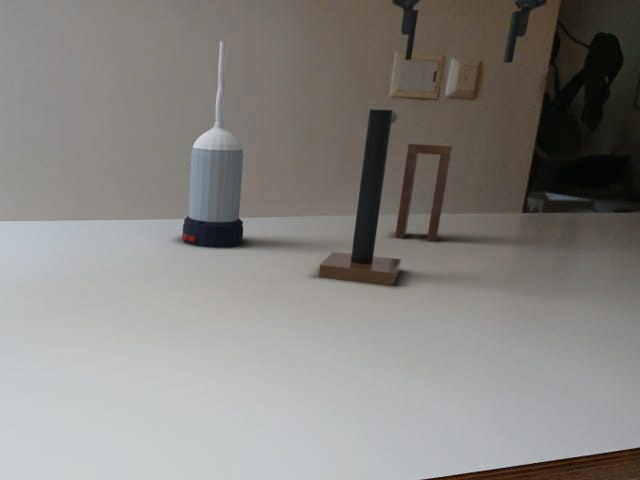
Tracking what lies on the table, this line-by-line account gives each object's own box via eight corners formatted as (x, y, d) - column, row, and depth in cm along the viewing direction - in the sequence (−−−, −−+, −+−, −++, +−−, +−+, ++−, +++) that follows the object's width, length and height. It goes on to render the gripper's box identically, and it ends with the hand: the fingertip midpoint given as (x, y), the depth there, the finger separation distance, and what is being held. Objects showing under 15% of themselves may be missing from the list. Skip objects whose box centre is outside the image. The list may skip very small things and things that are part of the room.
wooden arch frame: (437, 237, 109) (452, 144, 104) (435, 242, 105) (451, 146, 101) (397, 233, 111) (411, 142, 106) (394, 238, 107) (408, 143, 103)
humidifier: (174, 244, 98) (183, 38, 89) (191, 234, 105) (201, 43, 96) (234, 250, 95) (249, 39, 87) (248, 239, 103) (262, 44, 94)
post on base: (404, 261, 93) (427, 109, 87) (391, 286, 80) (417, 111, 74) (340, 253, 96) (357, 106, 89) (318, 277, 83) (337, 108, 77)
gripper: (579, -105, 100) (545, 64, 107) (387, -101, 105) (368, 59, 113) (594, -120, 93) (557, 62, 100) (389, -114, 99) (368, 57, 106)
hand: (457, 61), depth 107 cm, fingers open, 13 cm apart
